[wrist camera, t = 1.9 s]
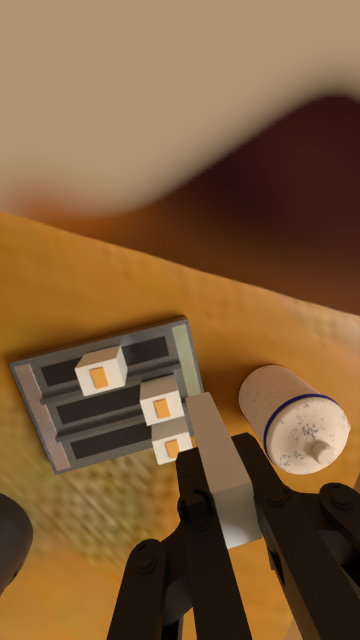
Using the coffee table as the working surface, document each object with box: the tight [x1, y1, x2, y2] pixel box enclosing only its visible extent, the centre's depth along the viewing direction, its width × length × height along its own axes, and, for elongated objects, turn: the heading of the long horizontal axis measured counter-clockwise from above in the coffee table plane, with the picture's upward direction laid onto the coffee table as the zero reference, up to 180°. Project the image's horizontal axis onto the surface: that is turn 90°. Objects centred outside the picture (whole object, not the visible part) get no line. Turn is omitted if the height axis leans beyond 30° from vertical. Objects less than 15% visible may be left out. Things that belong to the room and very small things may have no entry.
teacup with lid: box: [239, 365, 350, 474], centre depth 29 cm, size 12×9×12 cm
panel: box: [9, 316, 204, 475], centre depth 30 cm, size 20×15×3 cm
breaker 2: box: [140, 374, 184, 426], centre depth 28 cm, size 4×3×4 cm
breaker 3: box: [151, 411, 192, 465], centre depth 29 cm, size 4×3×4 cm
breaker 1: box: [75, 345, 128, 396], centre depth 26 cm, size 4×3×4 cm
